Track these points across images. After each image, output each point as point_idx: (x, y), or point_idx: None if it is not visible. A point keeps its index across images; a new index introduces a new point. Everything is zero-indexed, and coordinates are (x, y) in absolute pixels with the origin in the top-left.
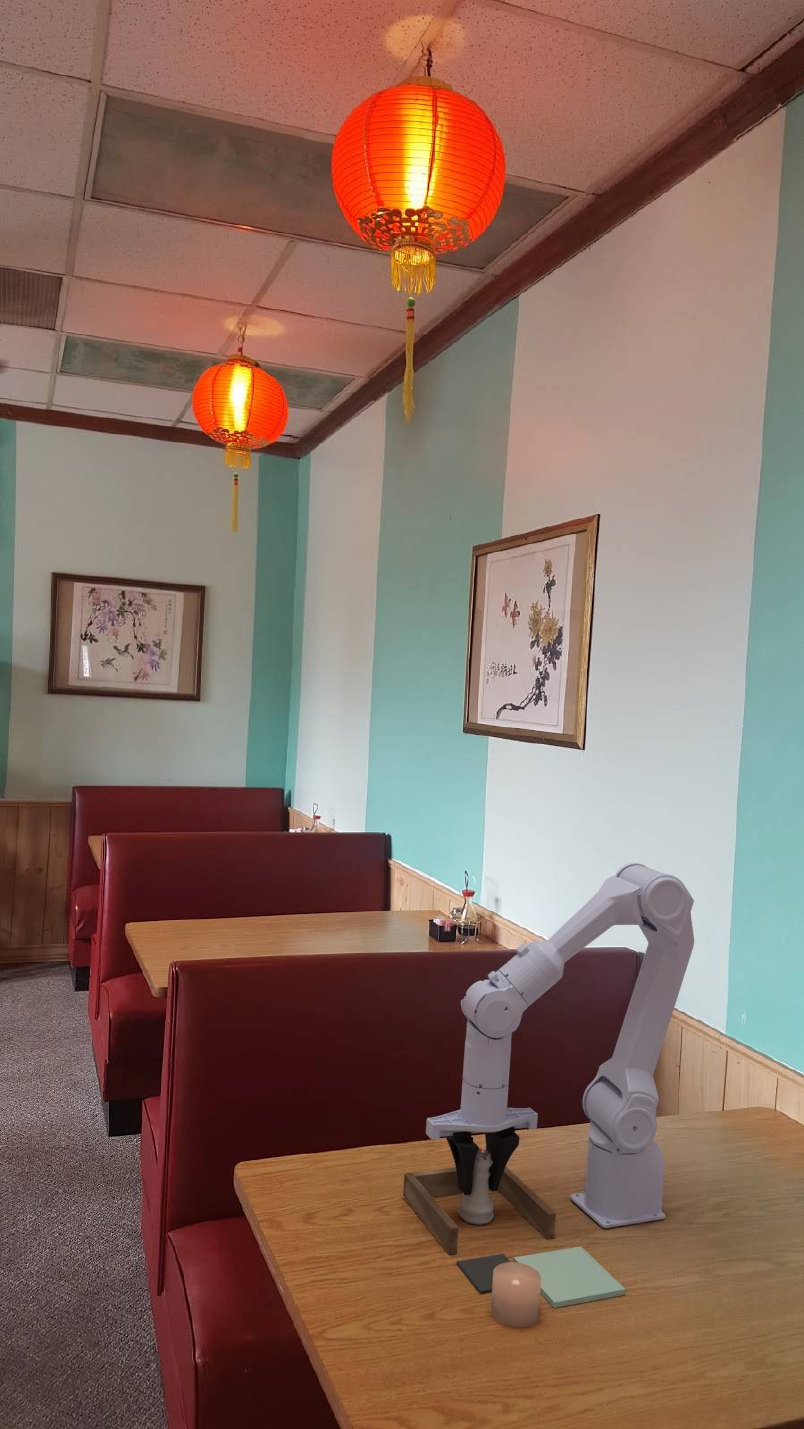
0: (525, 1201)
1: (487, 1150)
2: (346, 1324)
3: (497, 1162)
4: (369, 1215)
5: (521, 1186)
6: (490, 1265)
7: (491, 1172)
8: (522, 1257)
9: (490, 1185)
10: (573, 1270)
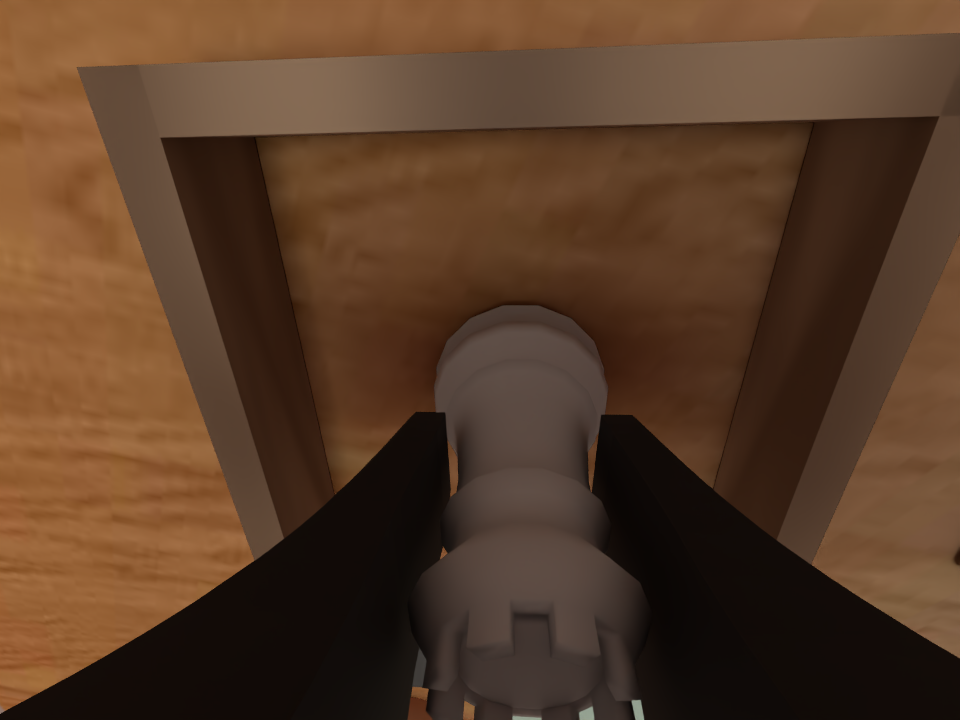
0: (765, 469)
1: (636, 692)
2: (30, 669)
3: (645, 701)
4: (23, 241)
5: (826, 443)
6: None
7: (620, 545)
8: None
9: (598, 483)
10: (633, 702)
